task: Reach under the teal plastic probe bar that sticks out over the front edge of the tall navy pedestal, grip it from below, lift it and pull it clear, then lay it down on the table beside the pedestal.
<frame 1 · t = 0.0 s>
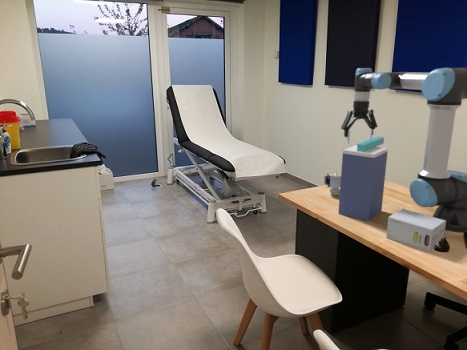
hand: (358, 142, 198), 28 cm above the table, tool pointing down, fingers open, 13 cm apart
probe bar: (370, 147, 176), point 30 cm above the table, touching pedestal
pedestal: (360, 212, 180), on the table
supplement box: (414, 240, 151), on the table
pneumatic valve: (335, 195, 205), on the table
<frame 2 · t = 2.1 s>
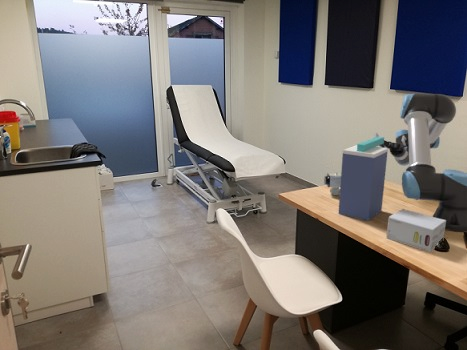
hand: (388, 136, 192), 32 cm above the table, tool pointing upward, fingers open, 13 cm apart
nothing on the table moved.
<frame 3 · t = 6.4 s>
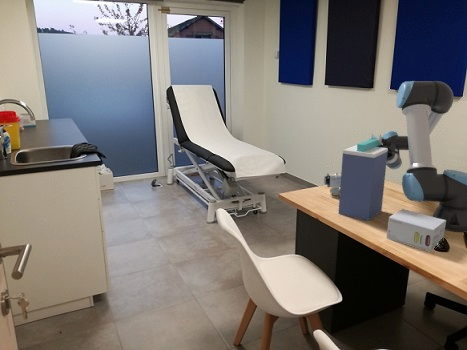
hand: (374, 136, 178), 34 cm above the table, tool pointing upward, fingers closed on probe bar, 3 cm apart
probe bar: (370, 147, 176), point 30 cm above the table, touching gripper, pedestal
everything else where it was.
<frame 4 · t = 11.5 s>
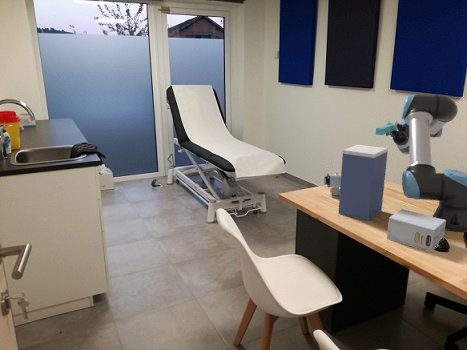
hand: (391, 122, 193), 39 cm above the table, tool pointing upward, fingers closed on probe bar, 3 cm apart
probe bar: (387, 131, 191), point 34 cm above the table, touching gripper
everything else where it was.
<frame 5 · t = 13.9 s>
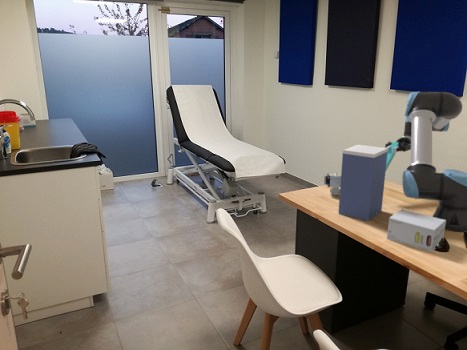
hand: (390, 150, 198), 24 cm above the table, tool horizontal, fingers closed on probe bar, 3 cm apart
probe bar: (388, 161, 198), point 18 cm above the table, tilted 30°, touching gripper
everything else where it was.
when the fingers open (13 cm above the table, at t = 16.6 s): probe bar drops 8 cm, on the table.
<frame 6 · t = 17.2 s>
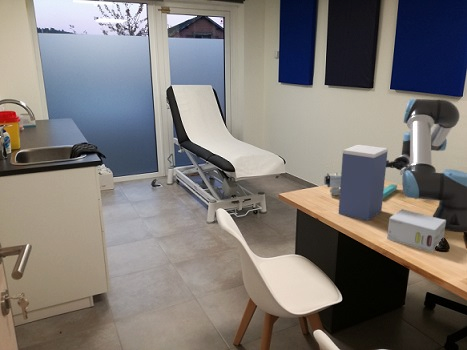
hand: (389, 170, 202), 13 cm above the table, tool horizontal, fingers open, 11 cm apart
probe bar: (385, 194, 205), on the table
everything else where it was.
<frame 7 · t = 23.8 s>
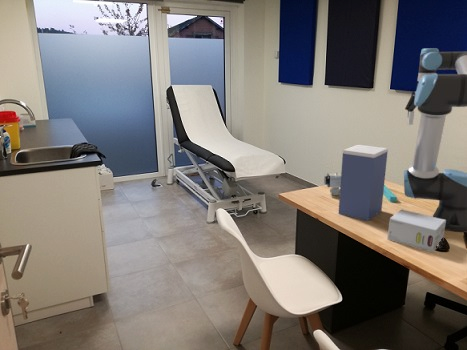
hand: (420, 126, 191), 37 cm above the table, tool pointing down, fingers open, 13 cm apart
at the end: probe bar on the table; probe bar moved 41.3 cm from its start; the gripper is holding nothing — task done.
